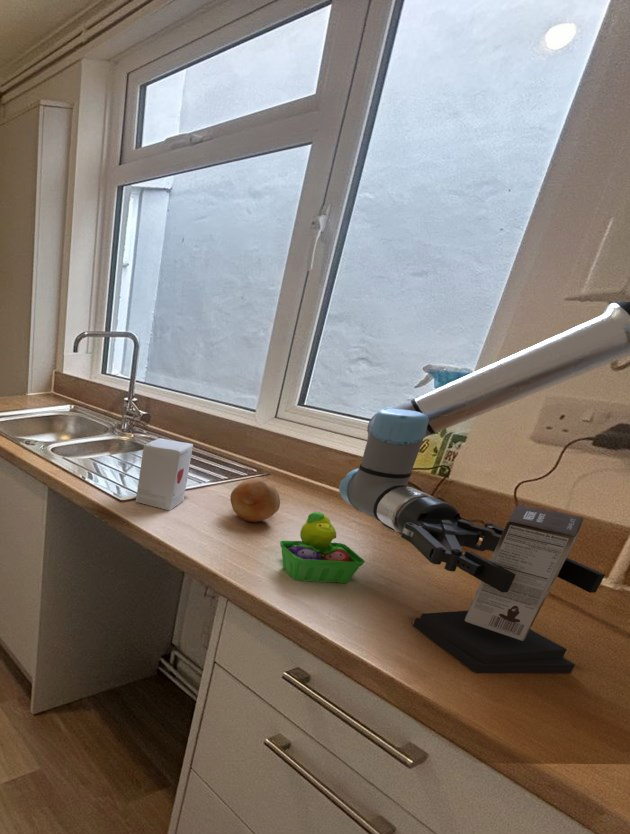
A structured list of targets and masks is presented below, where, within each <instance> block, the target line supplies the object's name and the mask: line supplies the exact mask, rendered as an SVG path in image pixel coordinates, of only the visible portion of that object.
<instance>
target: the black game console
mask: <svg viewBox="0 0 630 834" xmlns="http://www.w3.org/2000/svg"><path fill="white" fill-rule="evenodd" d="M468 611H469V610H456V611H453V610H452V611H440V612H439V611H438V612H424V613H423V612H422V613H421V614H420V616H419V617H415V618H414V621H413V623H412V627H413V628H415V630H417V631H418V632H420V633H421V634H423V635H424V637H426V638H427V639H429V640H431V642H433V643H435V645H437V646H438V647H439V648H441V649H442V650H444V651H445V652H446V653H448V654H449V655H451V657H453V658H454V659H456V660H457V661H458V662H459V663H461V664H462V665H463V666H465V667H466V668H468V669H469V670H470V671H472V672H473V673H475V674H571V673H572V672H573V670H574V668H575V666H576V664H575V663H573V662H572V661H570V659H567V658H566V657H564V656H565V655H566V653H567V651H568V649H567V648H565V647H564V646H562V645H560V644H558V643H557V642H555V641H552V640H551V639H549V638H547V637H546V636H543V635H541V634H540V633H538V632H536V631H535V630H532V629H531V628H530V630H529V632H528V634H527V636H526V637H525V639H524V641H521V640H518V639H515V638H512V637H510V636H507V635H504V634H501V633H498V632H495V631H492V630H489V629H486V628H483V627H480V626H477V625H474V624H471V623H468V622H466V621H465V618H466V615H467V613H468Z"/></svg>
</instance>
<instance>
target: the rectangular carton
mask: <svg viewBox="0 0 630 834" xmlns="http://www.w3.org/2000/svg"><path fill="white" fill-rule="evenodd" d="M193 448H194V444H193V443H190V442H185V441H184V442H183V441H177V440H172V439H167V438H160V437H159V438H157V439H154V440H151V441H150V442H147V443H146V444H143V449H142V455H141V463H140V470H139V477H138V483H137V489H136V497H135V502H136V503H140V504H143V505H147V506H151V507H154V508H158V509H162V510H164V511H165V510H166V511H170V512H171V510H173V509H174V508H176V507H177V506H179V505H180V504H182V503H183V502H184V500H185V499H184V498H185V496H186V495H185V494H186V489H187V482H188V478H189V471H190V465H191V461H192V454H193Z"/></svg>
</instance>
